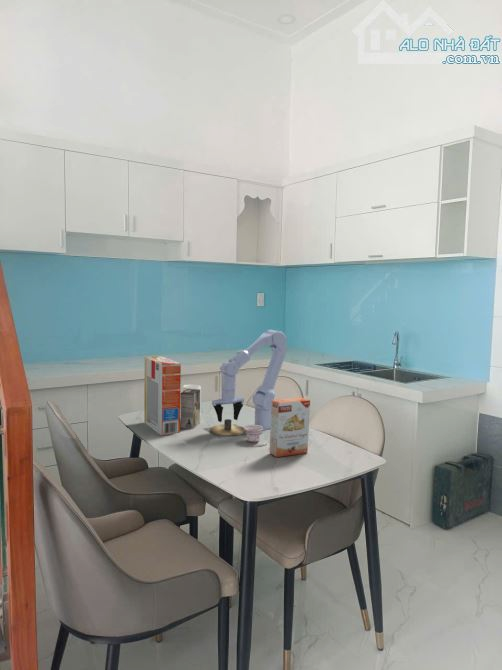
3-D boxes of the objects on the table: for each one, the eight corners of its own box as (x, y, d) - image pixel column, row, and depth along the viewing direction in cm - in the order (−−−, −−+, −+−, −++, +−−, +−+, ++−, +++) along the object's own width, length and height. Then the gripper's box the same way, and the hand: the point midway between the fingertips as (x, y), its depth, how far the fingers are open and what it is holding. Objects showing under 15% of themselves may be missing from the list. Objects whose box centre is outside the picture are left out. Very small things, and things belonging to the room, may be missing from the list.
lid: (234, 424, 231) (234, 414, 231) (251, 433, 218) (251, 422, 218) (204, 428, 224) (204, 417, 223) (220, 437, 211) (220, 426, 210)
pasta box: (179, 433, 218) (180, 363, 215) (161, 435, 214) (162, 364, 211) (161, 420, 237) (161, 356, 234) (144, 422, 233) (144, 357, 230)
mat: (235, 425, 232) (235, 424, 232) (253, 434, 218) (253, 433, 218) (202, 429, 224) (203, 428, 224) (219, 439, 210) (219, 438, 210)
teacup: (247, 436, 216) (247, 422, 215) (273, 441, 210) (273, 426, 210) (233, 444, 205) (233, 429, 205) (259, 449, 200) (260, 433, 199)
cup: (203, 419, 241) (204, 385, 239) (192, 423, 234) (193, 388, 232) (190, 416, 245) (190, 383, 244) (179, 420, 238) (179, 386, 237)
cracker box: (277, 458, 189) (278, 402, 187) (268, 453, 195) (270, 399, 193) (308, 453, 196) (310, 399, 194) (300, 448, 201) (301, 396, 199)
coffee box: (186, 423, 234) (187, 388, 232) (200, 424, 232) (200, 389, 231) (179, 428, 225) (180, 392, 223) (193, 429, 223) (194, 393, 222)
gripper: (238, 386, 226) (238, 416, 228) (209, 388, 219) (208, 420, 220) (246, 389, 220) (245, 420, 222) (216, 392, 213) (215, 424, 214)
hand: (227, 420), depth 221 cm, fingers open, 7 cm apart
